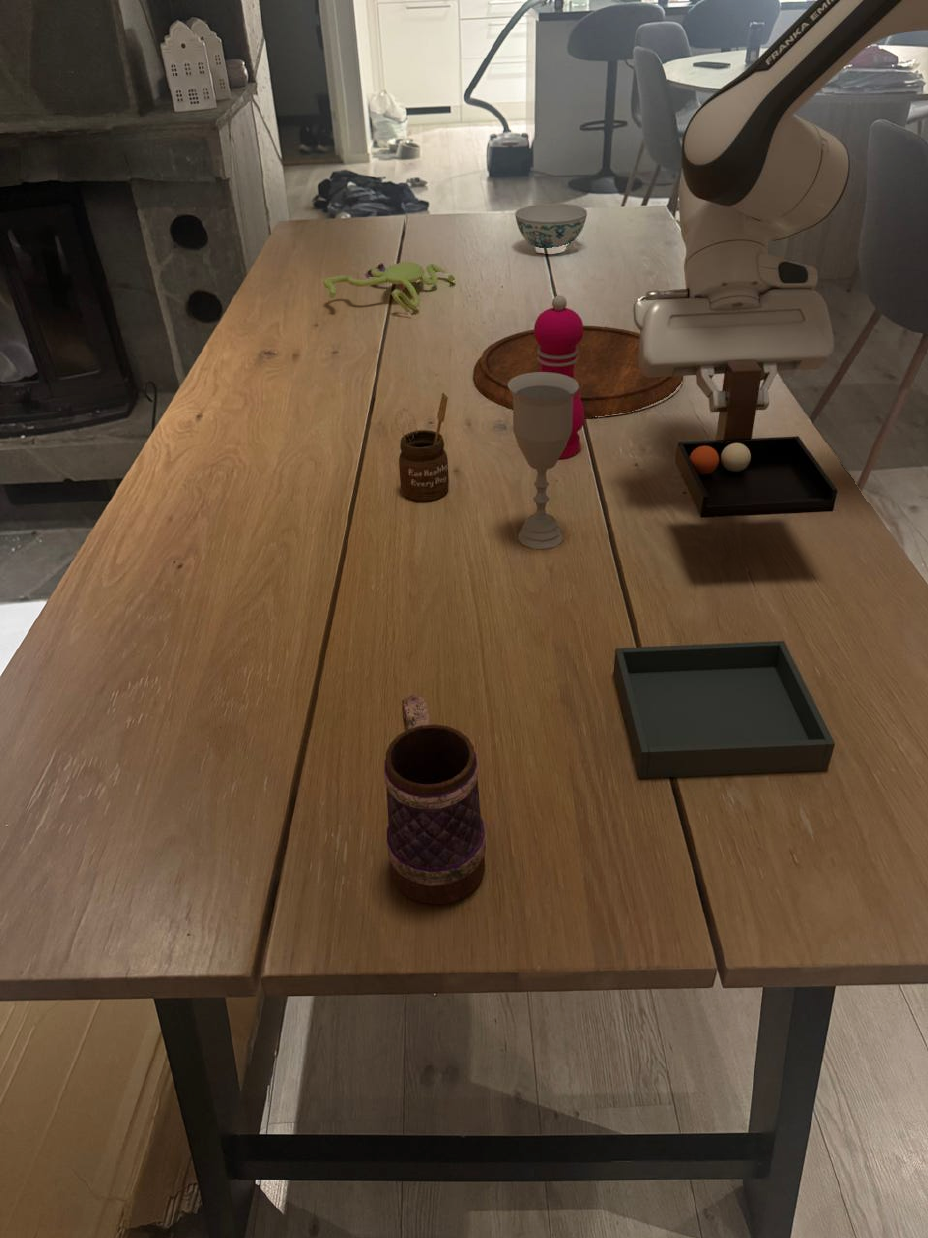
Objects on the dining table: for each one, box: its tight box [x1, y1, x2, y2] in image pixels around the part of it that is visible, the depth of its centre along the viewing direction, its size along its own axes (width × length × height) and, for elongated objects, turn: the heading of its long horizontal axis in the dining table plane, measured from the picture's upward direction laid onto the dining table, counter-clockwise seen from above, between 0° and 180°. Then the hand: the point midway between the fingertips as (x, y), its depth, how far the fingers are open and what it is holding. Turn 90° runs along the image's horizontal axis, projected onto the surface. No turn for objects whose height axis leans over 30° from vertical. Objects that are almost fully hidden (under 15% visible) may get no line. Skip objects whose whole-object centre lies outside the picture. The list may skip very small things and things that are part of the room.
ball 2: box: [721, 443, 751, 472], centre depth 96 cm, size 3×3×3 cm
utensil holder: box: [394, 391, 450, 502], centre depth 111 cm, size 6×6×12 cm
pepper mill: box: [533, 294, 585, 460], centre depth 116 cm, size 7×7×20 cm
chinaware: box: [514, 203, 588, 248], centre depth 196 cm, size 15×15×8 cm
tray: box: [612, 640, 836, 780], centre depth 79 cm, size 15×13×3 cm
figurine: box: [323, 262, 456, 313], centre depth 175 cm, size 18×27×6 cm
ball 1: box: [690, 446, 719, 475], centre depth 96 cm, size 3×3×3 cm
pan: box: [674, 360, 838, 519], centre depth 94 cm, size 13×15×10 cm
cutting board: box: [472, 325, 684, 419], centre depth 142 cm, size 32×32×2 cm
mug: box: [383, 694, 487, 905], centre depth 66 cm, size 10×7×12 cm
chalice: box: [508, 372, 579, 550], centre depth 99 cm, size 7×7×18 cm
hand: (739, 409), depth 98 cm, fingers closed on pan, 3 cm apart
